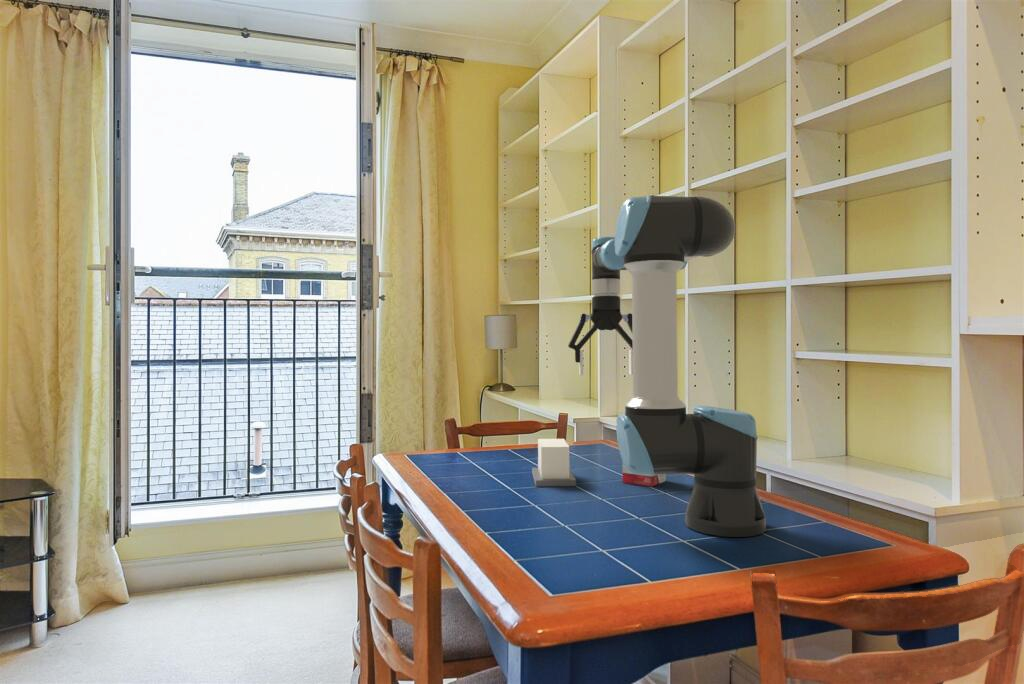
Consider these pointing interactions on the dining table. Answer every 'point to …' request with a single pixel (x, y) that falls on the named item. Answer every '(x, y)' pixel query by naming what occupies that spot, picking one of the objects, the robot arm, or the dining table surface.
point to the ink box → (642, 478)
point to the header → (552, 480)
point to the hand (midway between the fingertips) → (606, 374)
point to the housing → (553, 459)
